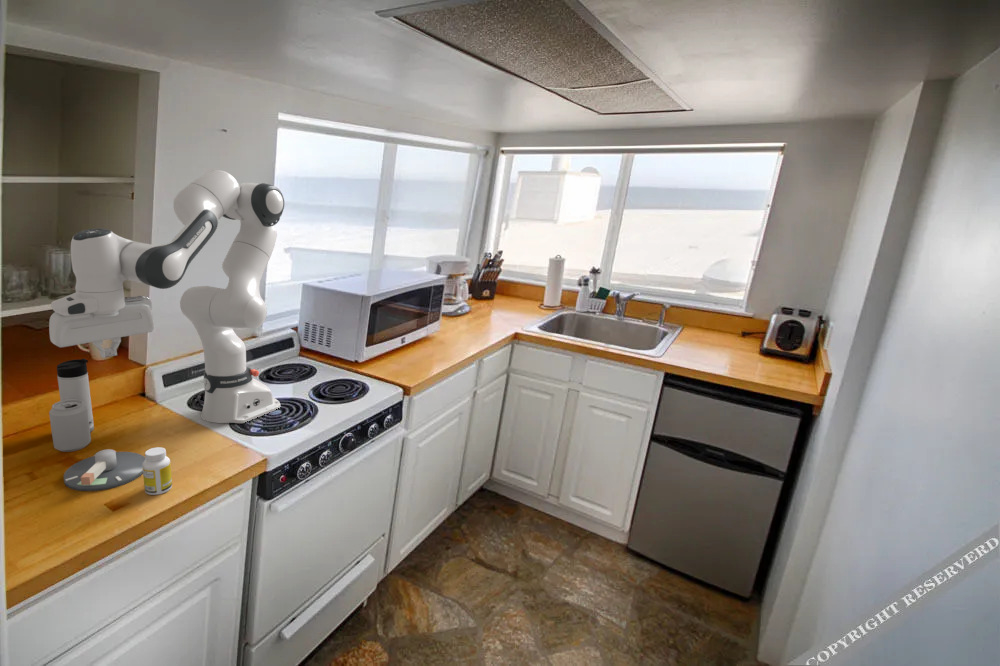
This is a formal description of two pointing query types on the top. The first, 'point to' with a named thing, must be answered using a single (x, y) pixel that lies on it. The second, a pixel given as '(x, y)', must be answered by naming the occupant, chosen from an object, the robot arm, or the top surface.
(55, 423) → the can
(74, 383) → the travel mug
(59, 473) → the top surface
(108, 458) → the needle
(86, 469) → the dial plate
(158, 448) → the supplement bottle
